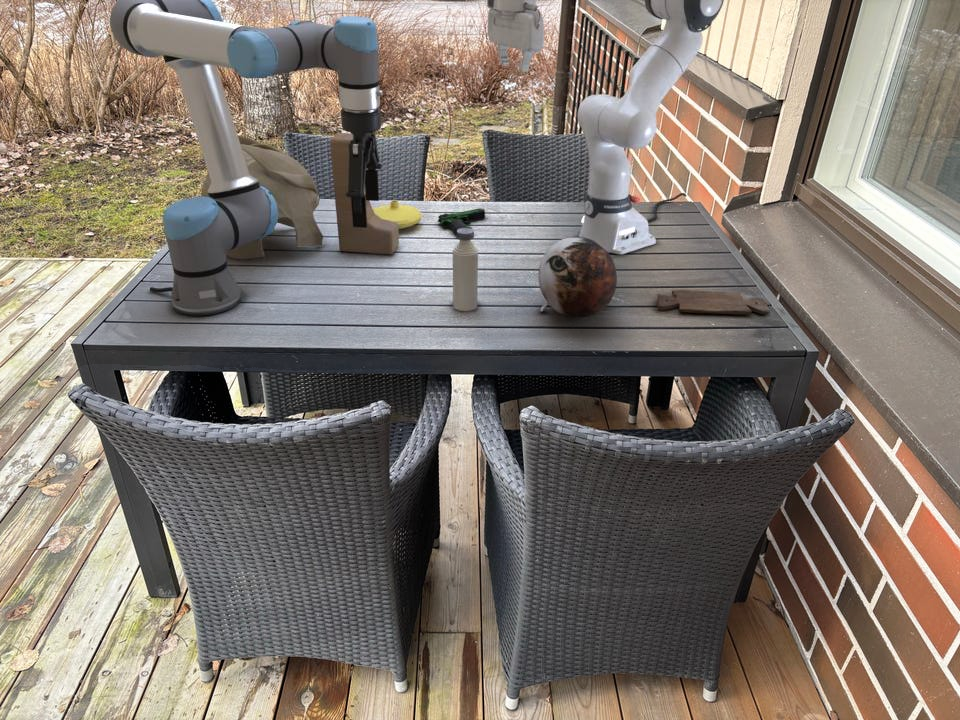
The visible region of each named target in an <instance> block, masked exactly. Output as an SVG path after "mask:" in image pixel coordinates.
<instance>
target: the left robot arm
mask: <svg viewBox="0 0 960 720" xmlns="http://www.w3.org/2000/svg"><path fill="white" fill-rule="evenodd" d="M109 26H110V30H111V33H112V35H113V37H114V39H115V40H116V42H117V43H118V44H119V45H120V46H121V47H122V48H123V49H124V50H126V51H128V52H129V53H131V54H133V55H135V56H142V57H146V58H150V59H151V58H159V57H161V56H162V57H163V61H164V63H165V65H166V66H167V67H168V68H170V69H172V70H173V71H174V72H175V73H176V76H177V79H178V82H179V86H180V89H181V92H182V95H183V98H184V102H185V105H186V108H187V111H188V113H189V117H190V120H191V122H192V123H191V124H192V126H193V129H194V132H195V135H196V138H197V141H198V145H199V147H200V151H201V154H202V157H203V159H204V163H205V165H206V169H207V173H208V172H209V175H210V178H211V181H212V182H211V185H210V187H209V189H208V194H209V197H205V196H201V195H200V196H199V195H198V196H192V197H186V198H182V199H180V200H177V201H175V202H173V203H171V204H170V205H169V206H167V207H166V208H165V209H164V211H163V214H162V225H163V234H164V236H165V239H166V244H167V249H168V252H169V257H170V262H171V265H172V271H173V282H172V286H170V287H169V286H168V287H153V286H151V287H149V291H150V292H152V293H153V292H154V293H167V292H171V296H170V297H171V298H170V300H171V305H172V309H173V310H174V311H175V312H177V313H178V314H181V315H185V316H190V317H203V316H204V317H205V316H212V315H213V316H214V315H217V314H220V313H224V312H228V311H229V310H231V309H233V308H235V307H236V306H238V305H239V304H240V303H241V301H242V299H243V298H242V291H241V288H240V286H239V283H238V281H236V278H235V276H234V275H233V273H232V272H231V270H230V268H229V265H228V259H227V255H226V252H227V251H229V250H232V249H234V248H237V247H239V246H242V245H245V244H247V243H250V242H252V241H257V240H260V239H261V240H262V238H265V237H267V236H268V235H270V234H271V233H273V232H274V230H275V228H276V226H277V224H278V223H277V220H278V209H277V205H276V202H275V199H274V197H273V196H272V195H270V192H269V191H268V190H267V189H266V188H264V187H261V186H260V185H259V182H258V179H256V178H254V177H253V176H251V175H250V174H249V171H248V168H247V165H246V161H245V158H244V155H243V152H242V148H241V145H240V142H239V138H238V135H239V134H238V133H237V128H236V126H235V122H234V118H233V115H232V112H231V109H230V106H229V103H228V99H227V94H226V92H225V89H224V86H223V81H222V79H221V76H220V73H219V70H218V67H222V68H226V69H232V70H233V71H234V72H236V73H237V75H238V76H240V77H241V78H244V79H249V80H251V79H265V78H268V77H271V76H278V75H282V74H286V73H293V72H294V73H295V72H299V71H304V70H309V69H318V68H319V69H324V70H329V71H333V72H337V79H338V94H339V95H338V97H339V106H340V107H341V110H340V120H341V129H342V130H343V131H345V132H346V133H352V134H353V140H351V143H349V146H348V147H349V180H348V193H346V196H347V197H351V205H352V219H353V227H361V228H367V212H366V200H369V201H370V202H374V201H375V202H379V201H380V188H379V170H382V163H380V156H379V149H378V143H377V136H376V132H378V131H380V130H381V128H382V111H381V109H380V108H379V107H380V106H381V97H383V95H384V92H383V91H382V90H380V76H379V71H380V70H379V69H380V68H379V47H380V46H379V45H380V43H379V40H378V29H377V25H376V22H375V21H374V20H373V19H371V18H369V17H365V16H355V15H353V16H351V15H350V16H349V15H348V16H341V17H338V18H336V19H335V21H334V26H333V25H328V24H322V23H317V22H313V21H312V20H293V21H291V22H290V23H289V24H288V25H287V26H286V25H285V26H278V27H268V28H261V27H254V26H247V25H242V24H237V23H231V22H225V21H224V20H223V17H222V14H221V12H220V10H219V9H218V7H217V5H216V4H215V3H214V1H213V0H117V1H116V2H115V3H114V5H113V7H111V11H110V16H109ZM366 169H368V170H366ZM364 188H365V193H366V195H364ZM354 190H358V191H354Z"/></svg>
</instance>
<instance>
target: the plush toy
mask: <svg viewBox="0 0 960 720" xmlns="http://www.w3.org/2000/svg"><path fill="white" fill-rule="evenodd" d="M538 266H539V267H538V274H537V275H538V277H537V278H538V285H539V289H540V292H541V294H542V296H543V298H544V299H545V301H546V302H547V303H545V304H543V305H542V306H541V307H540V312H541V313H542V312H543V311H544V310H545V309H546V308H547V307H548V305H549V306H550V307H551V308H552V309H553V310H554V311H556V312H557V313H559V314H561V315H563V316H566V317H568V318H572V319H585V318H590V317H593V316H595V315H597V314H598V313H601V312H602V311H603V310H604V309H606V307H607V306H608V305H609V304H610V302H611V301H612V299H613V298H614V295H615V292H616V289H617V283H618V275H617V268H616V265H615V262H614V260H613V258H612V256H611V254H610V252H607V251H606V250H605V249H604V248H603V247H602V246H601V245H600V244H598V243H597V242H595V241H594V240H591V239H588V238H585V237H579V236H568V237H564V238H562V239H559V240H558V241H556V242H554V244H552V245H551V246H549V248H548V249H547V250H546V252H544V254H543V256H542V257H541V260H540V263H539V265H538Z"/></svg>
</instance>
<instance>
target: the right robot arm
mask: <svg viewBox="0 0 960 720" xmlns="http://www.w3.org/2000/svg"><path fill="white" fill-rule="evenodd" d="M724 1H725V0H644V6H645V9H646V11H647V12H648V14H650V15H651V16H652V17H654V18H656V19H658V20H666V21H665V25H664V27H663V29H662V31H661V33H660V35H658V36H657V38H656V39H655V40H654V41H653V42H652V43H651V44H650V46H649V47H648V48H647V49H646V51H644V52H643V54H642V55H641V57H640V58H639V59H638V60H637V62H635V64H634V65H633V66H632V67H631V69H630V70H629V72H628V73H629V74H628V80H629V85H628V88H627V90H626V92H625V94H624V95H623V96H622V97H620V98H619V97H617V96H614V95H610V94H607V93H606V94H605V93H604V94H603V93H602V94H600V93H599V94H591V95H589V96H586V97H585V98H584V99H583V100H582V101H581V103H580V105H579V107H578V110H577V122H578V125H579V126H580V128H581V130H582V133H583V135H584V139H585V143H586V149H587V153H588V167H589V168H588V182H587V191H586V192H585V196H584V215H583V217H582V218H581V223H582V225H581V228H580V231H579V234H578V237H585V238H588V239H591V240H594V241H595V242H597V243H598V244H600V245H601V246H602V247H603V248H604V249H605V250H606V251H607V252H608V253H609V254H610V253H611V254H616V255H625V254H628V253H631V252H634V251H637V250H640V249H643V248H646V247H650V246H652V245H655V244H656V243H657V239H656V237H655V236H654V235H653V234H651V233H650V232H649V230H650V229H649V228H650V226H649V222H653V221H655V220H656V219H657V218H658V214H657V209H658V206H659V205H661V204H664V203H668V202H673V201H675V200H677V199H679V198H680V197H681V196H683V197H684V198H686V197H687V194H686V193H684V192H681V193H678V194H677V195H675V196H674V197H672V198H668V199H667V198H666V199H663V200H660V201H658V202H656V203H655V205H654V208H653V217H651V218H649V219H647V218H646V217H645V216H644V215H642V214H641V213H640V212H638V211H637V210H636V208H634V207H633V203H634V205H639V203H640V202H641V198H640V197H639V196H637V195H636V194H635V195H631V194H630V192H629V191H630V183H631V175H632V165H631V163H630V160H629V158H628V157H627V154H626V150H625V149H631V150H641V149H643V148H646V147H647V146H648V145H649V144H650V143H651V142H652V141H653V139H654V138H655V135H656V132H657V129H658V128H657V126H658V123H657V112H658V110H659V108H660V105H661V104H662V101H663V100H664V99H665V97H666V96H667V94H668V93H669V91H670V90H671V89H672V88H673V87H674V86H675V84H676V83H677V82H678V80H679V79H680V78H681V77H682V76H683V74H684V73H685V72H686V71H687V69H688V68H689V67H690V65H691V64H692V63H693V61H694V60H695V58H696V56H697V54H698V53H699V51H700V49H701V47H702V45H703V40H704V39H703V38H704V37H703V34H702V32H704V31H706V30H707V29H708V28H710V26H711V25H712V23H713V21H715V19H716V18H717V17H718V15H719V13H720V12H721V10H722V8H723V5H724ZM486 8H487V9H488V11H487V37H488V40H489V42H490V43H493V44H496V49H497V53H498V56H499V65H500V66H504V67H506V66H507V67H508V66H509V65H510V57H509V56H508V49H509V48H512V49H516V50H520V51H521V56H522V57H521V62H519V65H518V66H519V69H518V70H519V72H522V73H528V72H529V71H530V63H531V61H532V58H533V56H534V53H540V52H542V50H543V49H544V45H545V27H544V25H545V24H544V19H543V18H544V17H543V16H542V12H541V11H540V9H539V6H538V5H537V0H486Z"/></svg>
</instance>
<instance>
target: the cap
mask: <svg viewBox="0 0 960 720" xmlns="http://www.w3.org/2000/svg"><path fill="white" fill-rule="evenodd" d="M456 238H457V240H459V241H460V240H464V241H467V240H471V241H472V240H473V239H474V238H475V230H474V229H470V228H460V229H458V230H457V236H456Z"/></svg>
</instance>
